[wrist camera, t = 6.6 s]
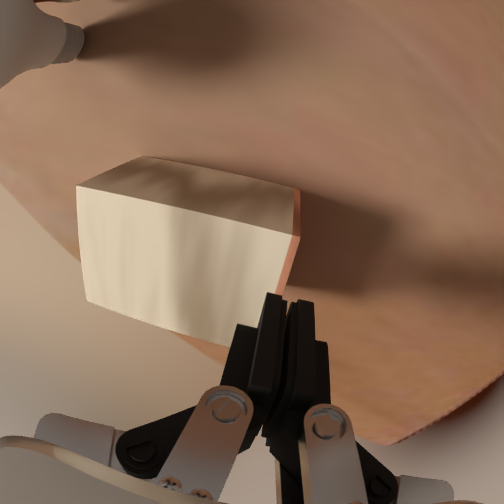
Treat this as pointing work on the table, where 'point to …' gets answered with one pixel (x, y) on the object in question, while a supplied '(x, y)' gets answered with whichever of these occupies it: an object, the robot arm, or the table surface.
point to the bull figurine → (63, 0)
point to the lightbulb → (33, 39)
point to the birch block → (186, 245)
